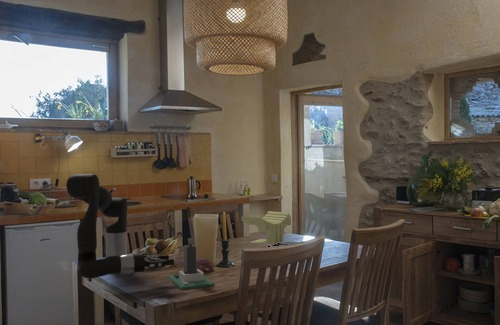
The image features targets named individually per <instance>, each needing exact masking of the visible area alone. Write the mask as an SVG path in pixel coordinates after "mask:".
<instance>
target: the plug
mask: <svg viewBox="0 0 500 325" xmlns="http://www.w3.org/2000/svg"><path fill="white" fill-rule="evenodd" d="M187 244H188V245H183V257H184V258H183V267H184V268H183V271H184V273H185V274H194V273H197V264H196V260H197V246H196V245H194V244H193V239H192V238H188V239H187Z"/></svg>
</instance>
